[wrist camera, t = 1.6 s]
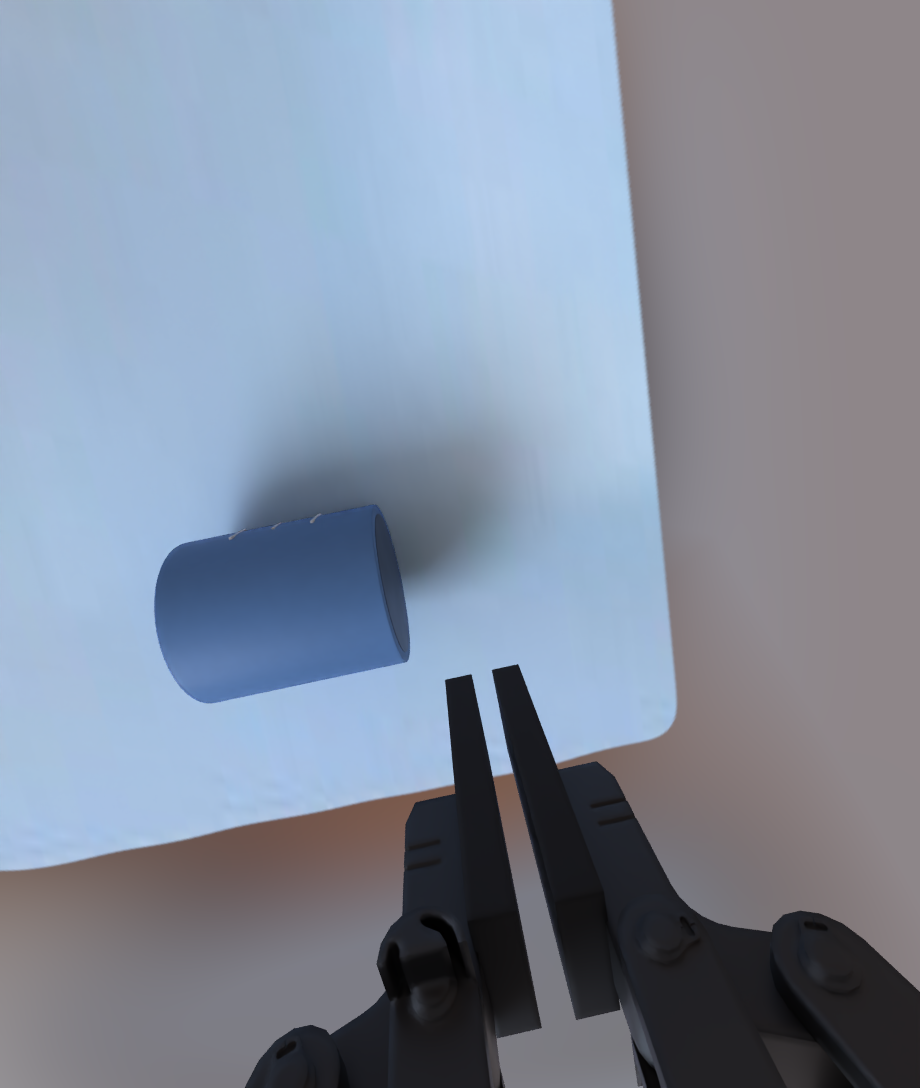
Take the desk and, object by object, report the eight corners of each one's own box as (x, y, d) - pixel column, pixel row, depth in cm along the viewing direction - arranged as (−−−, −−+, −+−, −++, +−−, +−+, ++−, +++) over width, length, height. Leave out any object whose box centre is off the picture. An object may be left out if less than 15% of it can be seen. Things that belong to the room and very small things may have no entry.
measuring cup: (256, 654, 30) (194, 739, 22) (214, 527, 28) (128, 569, 20) (412, 622, 30) (407, 694, 22) (381, 493, 28) (364, 520, 20)
